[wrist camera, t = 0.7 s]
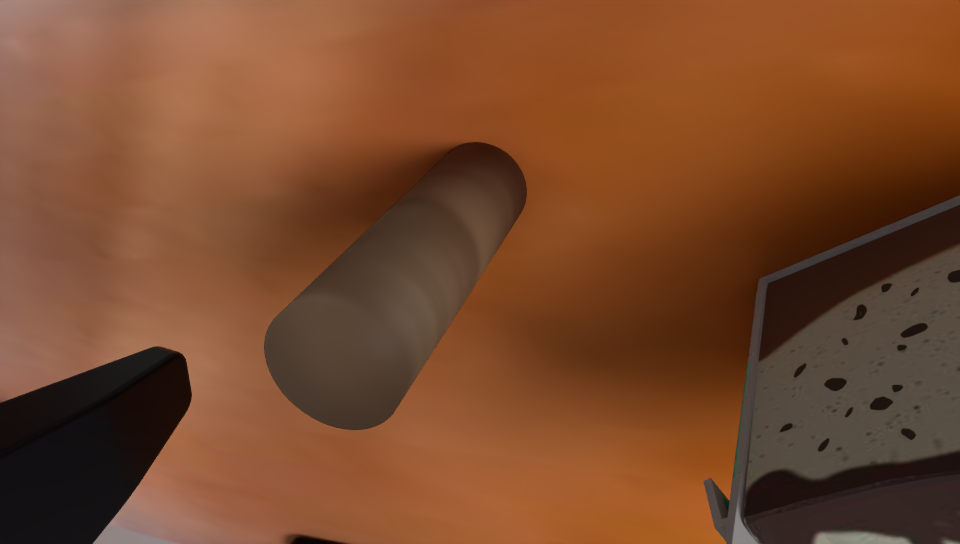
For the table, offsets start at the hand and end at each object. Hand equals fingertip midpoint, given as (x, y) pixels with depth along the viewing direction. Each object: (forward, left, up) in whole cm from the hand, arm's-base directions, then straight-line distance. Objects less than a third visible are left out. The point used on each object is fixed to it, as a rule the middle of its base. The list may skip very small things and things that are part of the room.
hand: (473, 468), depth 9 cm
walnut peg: (-4, -1, -13) cm, 14 cm away
